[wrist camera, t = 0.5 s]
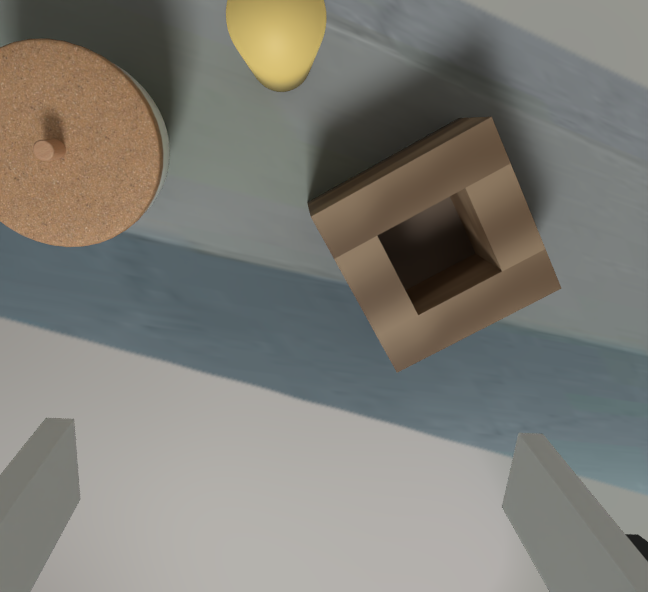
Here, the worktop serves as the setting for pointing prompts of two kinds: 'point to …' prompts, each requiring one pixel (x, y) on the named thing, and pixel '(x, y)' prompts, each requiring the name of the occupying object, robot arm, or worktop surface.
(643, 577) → the robot arm
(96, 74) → the lidded jar
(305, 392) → the worktop surface
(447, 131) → the socket block
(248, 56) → the dowel
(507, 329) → the worktop surface
